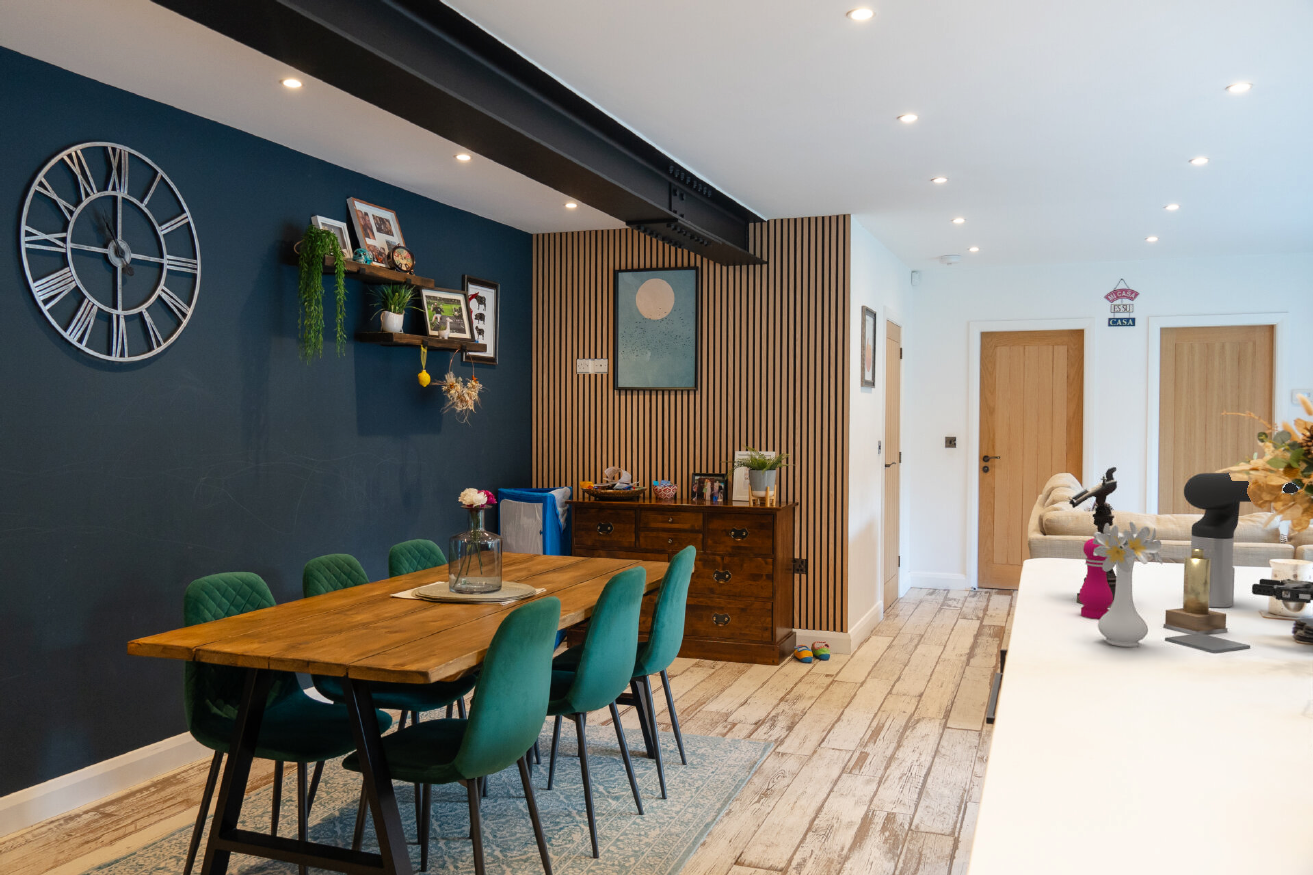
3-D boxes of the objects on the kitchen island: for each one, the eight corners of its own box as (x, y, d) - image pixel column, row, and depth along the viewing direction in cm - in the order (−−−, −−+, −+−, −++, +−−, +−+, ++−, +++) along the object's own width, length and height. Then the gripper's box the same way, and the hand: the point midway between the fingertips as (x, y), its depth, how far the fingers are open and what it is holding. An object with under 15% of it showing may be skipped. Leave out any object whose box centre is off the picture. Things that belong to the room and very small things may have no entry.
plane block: (1193, 624, 215) (1194, 606, 214) (1227, 631, 207) (1228, 613, 207) (1163, 627, 211) (1163, 609, 210) (1196, 635, 203) (1197, 617, 203)
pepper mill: (1105, 613, 225) (1108, 530, 224) (1117, 620, 217) (1119, 534, 217) (1074, 612, 225) (1076, 529, 225) (1084, 619, 218) (1087, 533, 217)
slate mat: (1200, 635, 203) (1200, 633, 203) (1250, 648, 193) (1250, 645, 193) (1164, 640, 199) (1164, 637, 199) (1214, 653, 188) (1214, 650, 188)
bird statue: (1054, 604, 234) (1058, 464, 233) (1055, 595, 246) (1058, 462, 245) (1128, 610, 228) (1132, 467, 227) (1125, 601, 240) (1129, 464, 239)
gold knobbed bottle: (1193, 608, 212) (1195, 546, 212) (1213, 613, 208) (1216, 550, 207) (1177, 610, 210) (1179, 548, 210) (1198, 615, 206) (1200, 551, 205)
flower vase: (1086, 649, 189) (1089, 526, 189) (1092, 631, 206) (1096, 517, 205) (1159, 659, 183) (1163, 531, 182) (1160, 639, 199) (1164, 522, 198)
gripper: (1353, 573, 196) (1262, 564, 206) (1346, 582, 185) (1250, 572, 196) (1352, 609, 196) (1261, 598, 207) (1345, 620, 185) (1249, 608, 196)
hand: (1256, 586), depth 201 cm, fingers open, 8 cm apart
